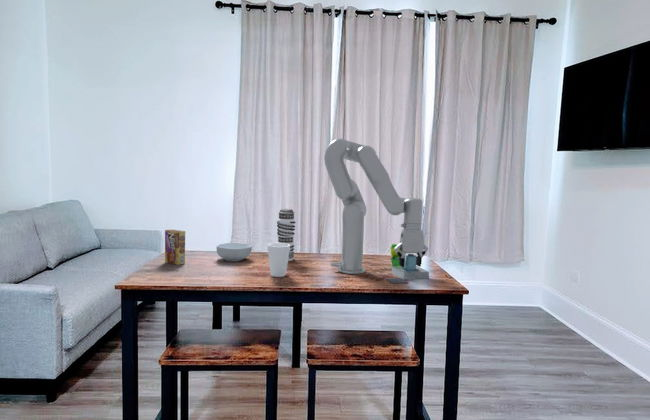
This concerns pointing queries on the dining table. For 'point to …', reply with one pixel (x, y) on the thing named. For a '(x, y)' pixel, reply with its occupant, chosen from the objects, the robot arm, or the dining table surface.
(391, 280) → the mat
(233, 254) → the cereal bowl
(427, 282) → the dining table surface
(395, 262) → the fruit basket
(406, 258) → the blue cylinder
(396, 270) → the frame
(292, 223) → the decorative candle
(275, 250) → the foam cup
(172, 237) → the candy box
